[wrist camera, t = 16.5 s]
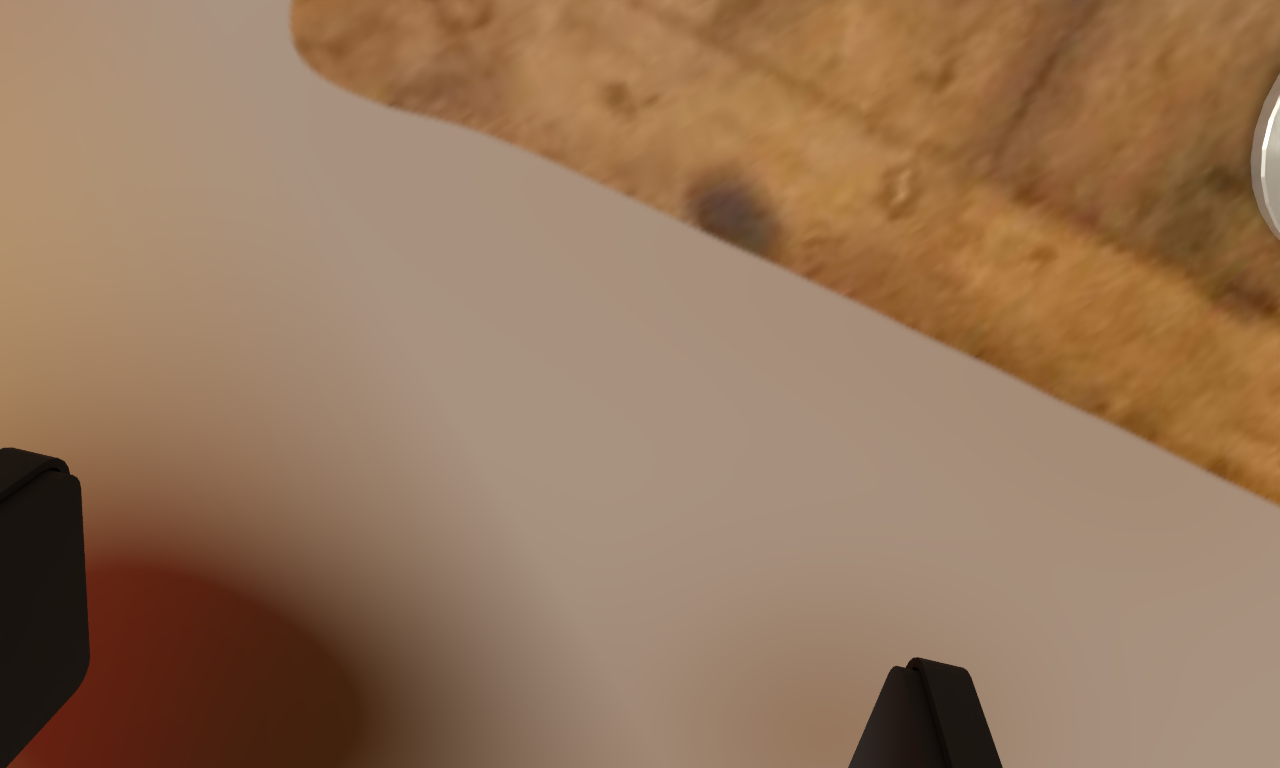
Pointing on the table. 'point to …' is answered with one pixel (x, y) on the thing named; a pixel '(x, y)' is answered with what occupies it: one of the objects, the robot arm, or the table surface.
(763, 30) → the table surface
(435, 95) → the table surface
